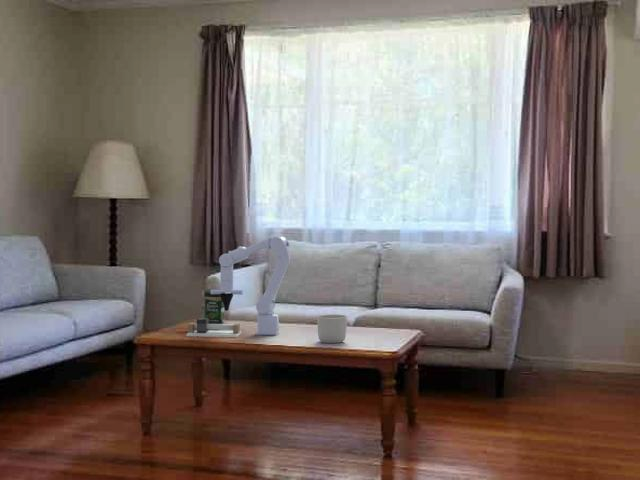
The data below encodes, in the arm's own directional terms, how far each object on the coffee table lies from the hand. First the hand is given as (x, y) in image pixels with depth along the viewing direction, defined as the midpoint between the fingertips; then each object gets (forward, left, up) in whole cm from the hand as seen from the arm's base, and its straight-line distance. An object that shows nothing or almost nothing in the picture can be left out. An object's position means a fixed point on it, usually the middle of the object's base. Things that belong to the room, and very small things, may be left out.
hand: (226, 310), depth 360 cm
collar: (+9, +8, -9) cm, 15 cm away
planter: (-49, +21, -10) cm, 54 cm away
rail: (+4, +8, -10) cm, 13 cm away
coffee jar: (+8, -11, -10) cm, 17 cm away
